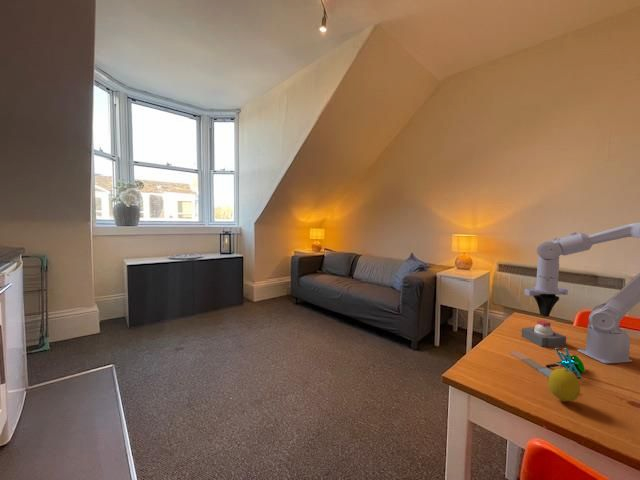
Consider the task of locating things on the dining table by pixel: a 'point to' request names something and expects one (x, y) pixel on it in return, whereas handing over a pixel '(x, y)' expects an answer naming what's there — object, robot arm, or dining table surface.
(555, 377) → the lemon
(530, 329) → the dome housing
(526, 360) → the track tiles
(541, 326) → the dome button
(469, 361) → the dining table surface
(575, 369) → the stick construction toy
